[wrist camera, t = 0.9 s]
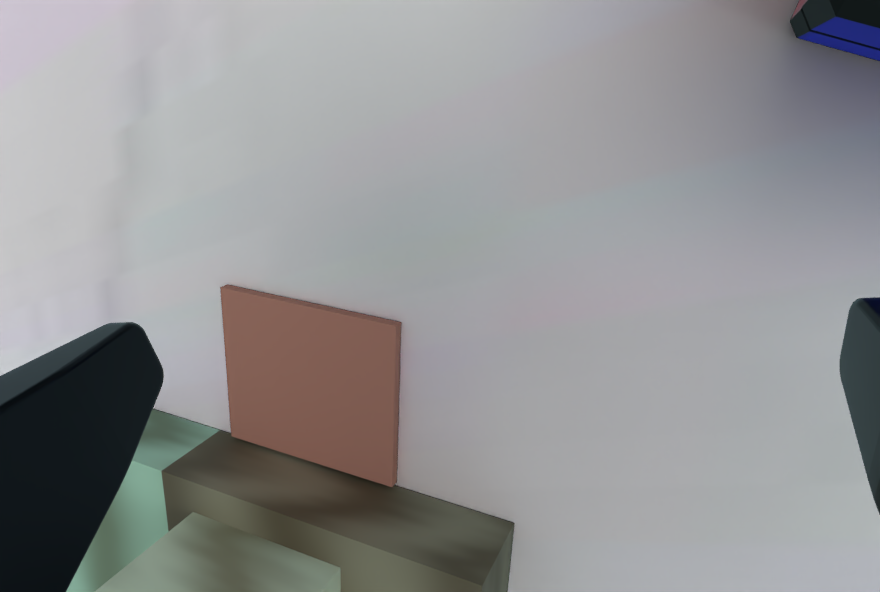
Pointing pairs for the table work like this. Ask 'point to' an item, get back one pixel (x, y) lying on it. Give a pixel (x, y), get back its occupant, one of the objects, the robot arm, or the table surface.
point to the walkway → (295, 515)
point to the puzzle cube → (840, 25)
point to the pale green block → (221, 564)
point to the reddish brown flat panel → (313, 381)
